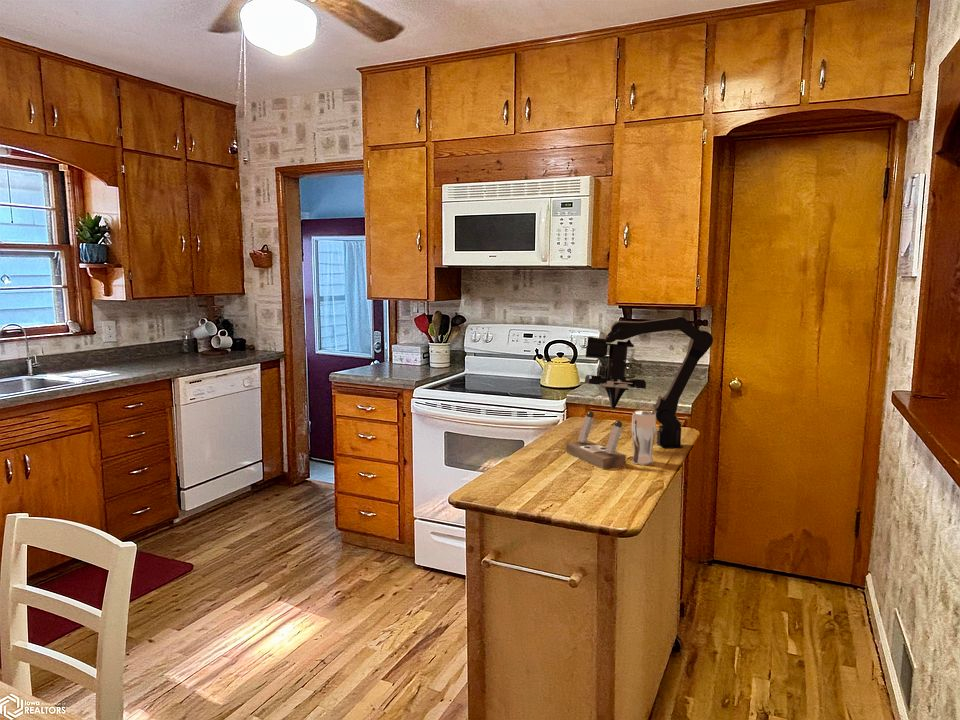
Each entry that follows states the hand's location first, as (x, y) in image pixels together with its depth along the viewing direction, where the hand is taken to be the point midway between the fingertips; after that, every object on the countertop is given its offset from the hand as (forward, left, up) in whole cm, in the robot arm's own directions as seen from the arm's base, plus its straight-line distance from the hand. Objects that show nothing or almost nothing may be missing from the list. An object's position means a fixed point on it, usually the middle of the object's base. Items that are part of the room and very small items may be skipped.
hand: (613, 408), depth 209 cm
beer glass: (-3, +19, -12) cm, 23 cm away
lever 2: (+7, +21, -9) cm, 24 cm away
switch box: (+10, +14, -12) cm, 21 cm away
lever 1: (+12, +8, -9) cm, 17 cm away
